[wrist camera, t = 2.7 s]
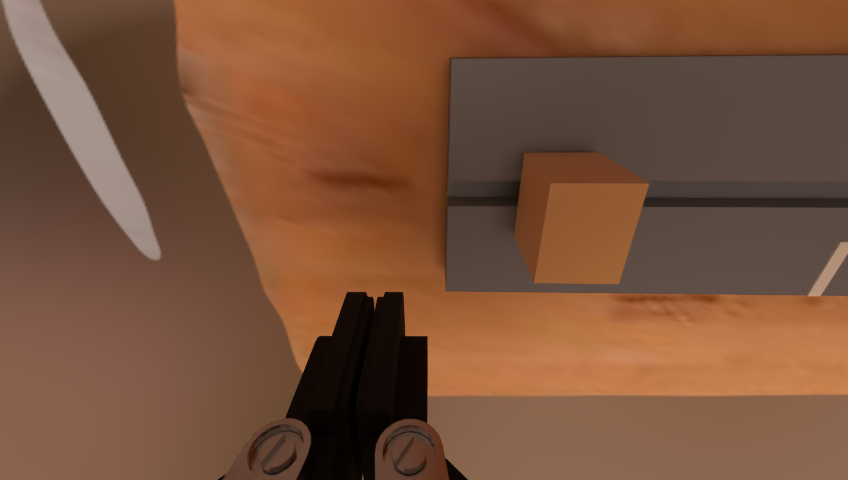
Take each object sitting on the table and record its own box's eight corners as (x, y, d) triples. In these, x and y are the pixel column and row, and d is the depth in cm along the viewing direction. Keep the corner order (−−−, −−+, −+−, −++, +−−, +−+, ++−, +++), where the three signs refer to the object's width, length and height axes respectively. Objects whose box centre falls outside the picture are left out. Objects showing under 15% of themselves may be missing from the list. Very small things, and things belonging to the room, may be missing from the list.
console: (1046, 52, 19) (1149, 52, 16) (888, 271, 26) (942, 297, 23) (449, 57, 20) (451, 58, 17) (444, 267, 27) (445, 292, 24)
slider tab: (588, 145, 20) (649, 183, 15) (572, 224, 23) (619, 284, 17) (518, 145, 20) (550, 183, 15) (509, 223, 23) (533, 283, 17)
